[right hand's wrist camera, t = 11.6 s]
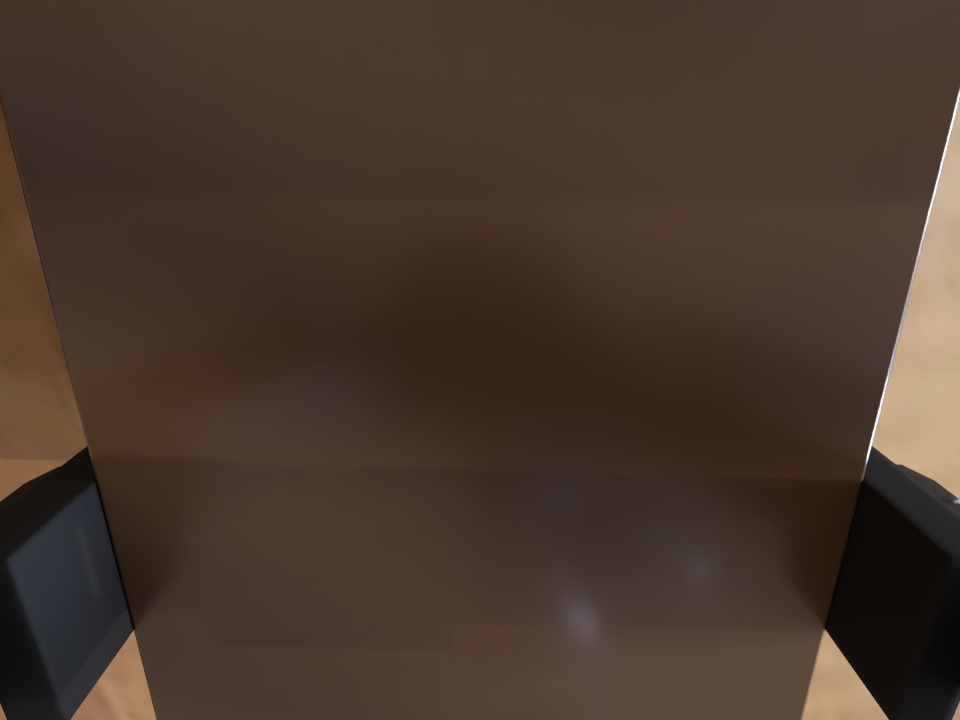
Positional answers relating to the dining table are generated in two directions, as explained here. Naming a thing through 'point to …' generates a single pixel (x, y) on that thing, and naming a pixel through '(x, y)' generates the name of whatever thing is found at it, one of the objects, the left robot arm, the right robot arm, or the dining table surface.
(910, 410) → the dining table surface
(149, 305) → the cabinet
